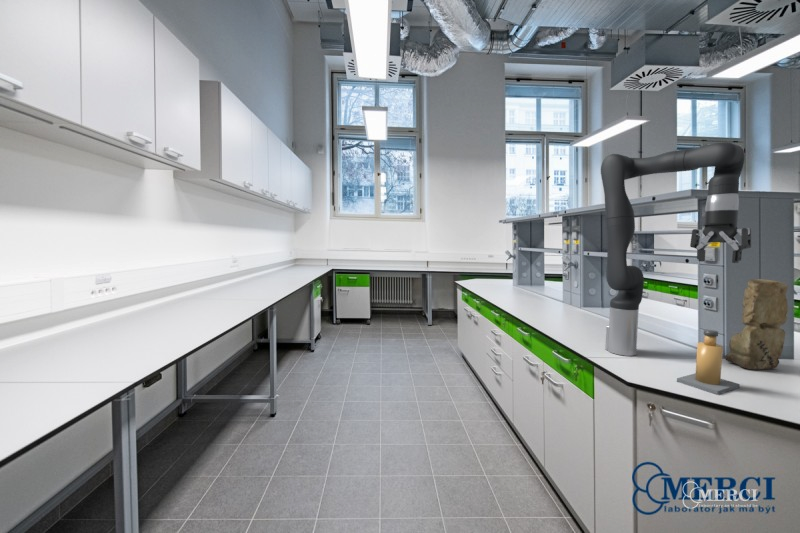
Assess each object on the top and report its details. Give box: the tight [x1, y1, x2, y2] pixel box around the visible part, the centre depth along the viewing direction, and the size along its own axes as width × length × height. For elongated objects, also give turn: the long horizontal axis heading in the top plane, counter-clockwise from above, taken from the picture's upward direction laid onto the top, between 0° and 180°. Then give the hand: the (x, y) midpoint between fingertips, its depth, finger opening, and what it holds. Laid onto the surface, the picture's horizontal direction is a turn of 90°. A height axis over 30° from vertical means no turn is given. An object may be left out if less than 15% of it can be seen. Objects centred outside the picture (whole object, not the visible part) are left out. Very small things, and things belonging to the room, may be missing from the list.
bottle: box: [695, 329, 724, 385], centre depth 104 cm, size 6×6×15 cm
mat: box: [676, 372, 741, 396], centre depth 104 cm, size 10×12×1 cm
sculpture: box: [724, 278, 789, 371], centre depth 118 cm, size 12×9×30 cm
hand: (717, 262), depth 109 cm, fingers open, 8 cm apart
